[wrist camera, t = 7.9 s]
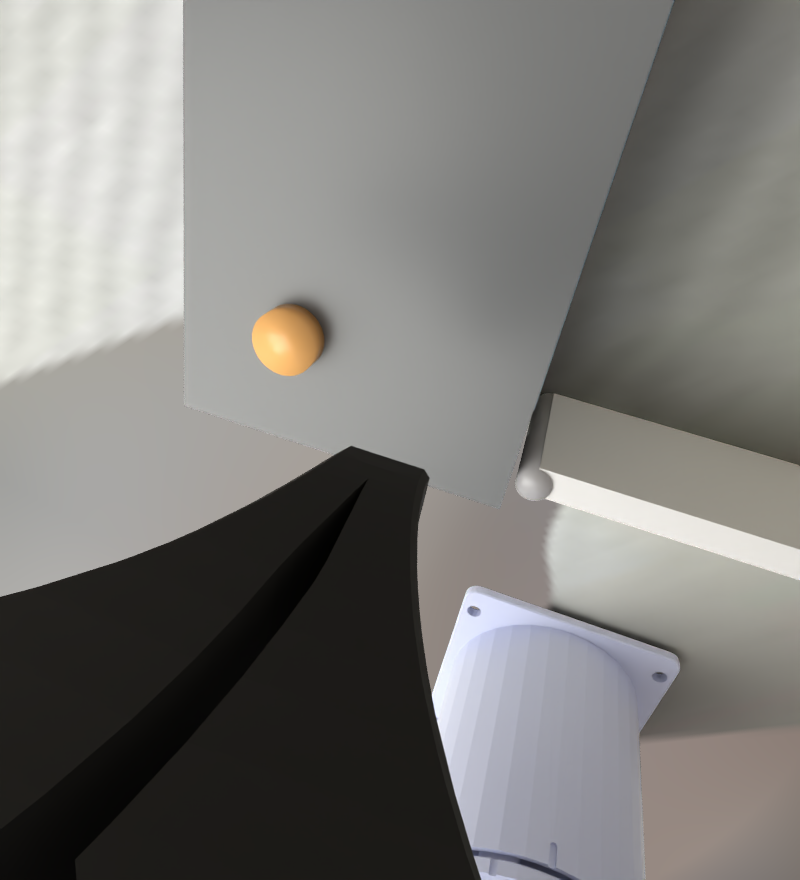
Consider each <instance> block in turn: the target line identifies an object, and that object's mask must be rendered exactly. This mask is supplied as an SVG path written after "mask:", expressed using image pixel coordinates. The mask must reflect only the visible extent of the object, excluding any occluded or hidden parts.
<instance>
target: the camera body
mask: <svg viewBox="0 0 800 880" xmlns="http://www.w3.org/2000/svg"><path fill="white" fill-rule="evenodd" d="M674 1H675V0H183V135H184V406H185V407H188V408H191V409H195V410H197V411H200V412H203V413H207V414H209V415H213V416H216V417H219V418H222V419H225V420H228V421H231V422H234V423H237V424H240V425H243V426H246V427H249V428H253V429H256V430H259V431H262V432H265V433H268V434H271V435H274V436H277V437H280V438H283V439H286V440H289V441H292V442H295V443H298V444H301V445H305V446H308V447H311V448H313V449H316V450H320V451H323V452H326V453H329V454H332V455H335V454H337V453H339V452H340V451H342V450H344V449H346V448H348V447H350V446H353V447H356V448H360V449H363V450H366V451H369V452H372V453H375V454H378V455H381V456H384V457H388V458H391V459H394V460H397V461H400V462H403V463H406V464H409V465H412V466H416V467H419V468H422V469H425V471H426V473H427V474H428V476H429V478H430V479H429V482H428V486H430V487H433V488H436V489H439V490H442V491H445V492H448V493H451V494H454V495H457V496H460V497H463V498H466V499H469V500H473V501H476V502H479V503H482V504H485V505H488V506H491V507H494V508H497V509H500V507H501V504H502V501H503V498H504V495H505V492H506V489H507V486H508V483H509V480H510V478H511V475H512V471H513V469H514V466H515V463H516V460H517V457H518V454H519V451H520V448H521V445H522V442H523V439H524V436H525V434H526V431H527V428H528V425H529V422H530V419H531V416H532V413H533V410H535V407H536V405H537V402H538V399H539V396H540V393H541V390H542V387H543V384H544V381H545V378H546V375H547V372H548V369H549V367H550V364H551V361H552V358H553V355H554V352H555V349H556V346H557V343H558V340H559V337H560V334H561V331H562V329H563V326H564V323H565V320H566V317H567V314H568V311H569V308H570V305H571V302H572V299H573V296H574V294H575V291H576V288H577V285H578V282H579V279H580V276H581V273H582V270H583V267H584V264H585V261H586V258H587V256H588V253H589V250H590V247H591V244H592V241H593V238H594V235H595V232H596V229H597V226H598V223H599V220H600V218H601V215H602V212H603V209H604V206H605V203H606V200H607V197H608V194H609V191H610V188H611V185H612V182H613V180H614V177H615V174H616V171H617V168H618V165H619V162H620V159H621V156H622V153H623V150H624V147H625V144H626V142H627V139H628V136H629V133H630V130H631V127H632V124H633V121H634V118H635V115H636V112H637V109H638V106H639V104H640V101H641V98H642V95H643V92H644V89H645V86H646V83H647V80H648V77H649V74H650V71H651V69H652V66H653V63H654V60H655V57H656V54H657V51H658V48H659V45H660V42H661V39H662V36H663V33H664V31H665V28H666V25H667V22H668V19H669V16H670V13H671V10H672V7H673V4H674Z"/></svg>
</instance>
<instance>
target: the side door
mask: <svg viewBox="0 0 800 880" xmlns="http://www.w3.org/2000/svg"><path fill="white" fill-rule="evenodd" d="M515 486H516V489H517V491H518V493H519V494H520V495H521V496H522V497H524V498H525V499H528V500H532V501H539V500H543V499H548V500H551V501H554V502H557V503H560V504H563V505H566V506H569V507H573V508H576V509H579V510H582V511H585V512H588V513H591V514H594V515H598V516H601V517H604V518H607V519H610V520H613V521H616V522H619V523H622V524H626V525H629V526H632V527H635V528H638V529H641V530H644V531H647V532H651V533H654V534H657V535H660V536H663V537H666V538H669V539H672V540H675V541H679V542H682V543H685V544H688V545H691V546H694V547H697V548H700V549H704V550H707V551H710V552H713V553H716V554H719V555H722V556H725V557H728V558H732V559H735V560H738V561H741V562H744V563H747V564H750V565H753V566H757V567H760V568H763V569H766V570H769V571H772V572H775V573H778V574H781V575H785V576H788V577H791V578H794V579H797V580H800V465H797V464H793V463H790V462H787V461H783V460H780V459H776V458H773V457H770V456H766V455H763V454H759V453H756V452H753V451H749V450H746V449H742V448H739V447H736V446H732V445H729V444H725V443H722V442H719V441H715V440H712V439H708V438H705V437H702V436H698V435H695V434H691V433H688V432H685V431H681V430H678V429H674V428H671V427H668V426H664V425H661V424H657V423H654V422H651V421H647V420H644V419H640V418H637V417H634V416H630V415H627V414H623V413H620V412H616V411H613V410H610V409H606V408H603V407H599V406H596V405H593V404H589V403H586V402H582V401H579V400H576V399H572V398H569V397H565V396H562V395H559V394H555V393H554V394H552V393H546V394H542V395H540V396H539V399H538V402H537V405H536V407H535V410H533V413H532V416H531V420H530V424H529V428H528V432H527V437H526V441H525V445H524V449H523V453H522V458H521V461H520V465H519V470H518V473H517V478H516V482H515Z"/></svg>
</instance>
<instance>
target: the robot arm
mask: <svg viewBox="0 0 800 880" xmlns="http://www.w3.org/2000/svg"><path fill="white" fill-rule="evenodd" d="M429 479H430V478H429V476H428V474H427V473H426V471H425V469H422V468H419V467H416V466H412V465H409V464H406V463H403V462H400V461H397V460H394V459H391V458H388V457H384V456H381V455H378V454H375V453H372V452H369V451H366V450H363V449H360V448H356V447H353V446H350V447H348V448H346V449H344V450H342V451H340V452H339V453H337V454H335V455H334V456H332V457H330V458H329V459H327V460H325V461H324V462H322V463H320V464H319V465H317V466H316V467H314V468H312V469H311V470H309V471H307V472H306V473H304V474H302V475H300V476H299V477H297V478H295V479H294V480H292V481H290V482H289V483H287V484H285V485H283V486H282V487H280V488H278V489H276V490H274V491H273V492H271V493H269V494H267V495H265V496H264V497H262V498H260V499H258V500H257V501H255V502H253V503H251V504H249V505H247V506H245V507H243V508H241V509H239V510H237V511H236V512H233V513H231V514H229V515H227V516H225V517H223V518H221V519H219V520H217V521H215V522H213V523H211V524H209V525H207V526H204V527H203V528H200V529H198V530H196V531H194V532H192V533H189V534H187V535H185V536H183V537H180V538H178V539H176V540H174V541H171V542H169V543H166V544H164V545H161V546H158V547H156V548H153V549H151V550H148V551H145V552H143V553H140V554H138V555H135V556H133V557H130V558H127V559H124V560H122V561H118V562H116V563H113V564H109V565H106V566H103V567H100V568H97V569H93V570H90V571H87V572H84V573H81V574H78V575H75V576H72V577H68V578H65V579H62V580H59V581H56V582H52V583H49V584H46V585H43V586H40V587H36V588H33V589H29V590H25V591H21V592H17V593H13V594H10V595H6V596H2V597H0V880H646V879H645V856H644V834H643V811H642V788H641V766H640V742H639V733H640V732H641V730H642V729H643V727H644V725H645V724H646V722H647V721H648V719H649V718H650V716H651V715H652V713H653V712H654V710H655V709H656V707H657V706H658V704H659V702H660V701H661V699H662V698H663V696H664V695H665V693H666V692H667V690H668V689H669V687H670V686H671V684H672V683H673V681H674V680H675V678H676V676H677V675H678V673H679V671H680V662H679V659H678V657H677V656H676V655H675V654H673V653H671V652H669V651H666V650H663V649H660V648H657V647H654V646H651V645H648V644H646V643H643V642H640V641H637V640H634V639H631V638H628V637H625V636H623V635H620V634H617V633H614V632H611V631H608V630H605V629H602V628H600V627H597V626H594V625H591V624H588V623H585V622H582V621H579V620H577V619H574V618H571V617H568V616H565V615H562V614H559V613H557V612H554V611H551V610H548V609H545V608H542V607H539V606H536V605H533V604H531V603H527V602H524V601H522V600H519V599H516V598H513V597H510V596H508V595H505V594H502V593H499V592H496V591H493V590H490V589H487V588H485V587H481V586H472V587H470V588H469V589H468V590H467V591H466V594H465V597H464V600H463V603H462V606H461V609H460V612H459V615H458V618H457V621H456V624H455V627H454V630H453V633H452V636H451V639H450V642H449V645H448V648H447V651H446V654H445V657H444V660H443V663H442V666H441V669H440V672H439V675H438V678H437V681H436V684H435V687H434V690H433V693H432V694H431V689H430V683H429V679H428V672H427V666H426V659H425V653H424V646H423V639H422V631H421V622H420V612H419V598H418V581H417V534H418V522H419V518H420V514H421V510H422V506H423V502H424V498H425V494H426V490H427V486H428V482H429ZM471 606H476V607H478V608H479V609H478V610H477V609H473V608H472V607H471ZM655 672H662V673H663V674H657V673H655Z"/></svg>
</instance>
